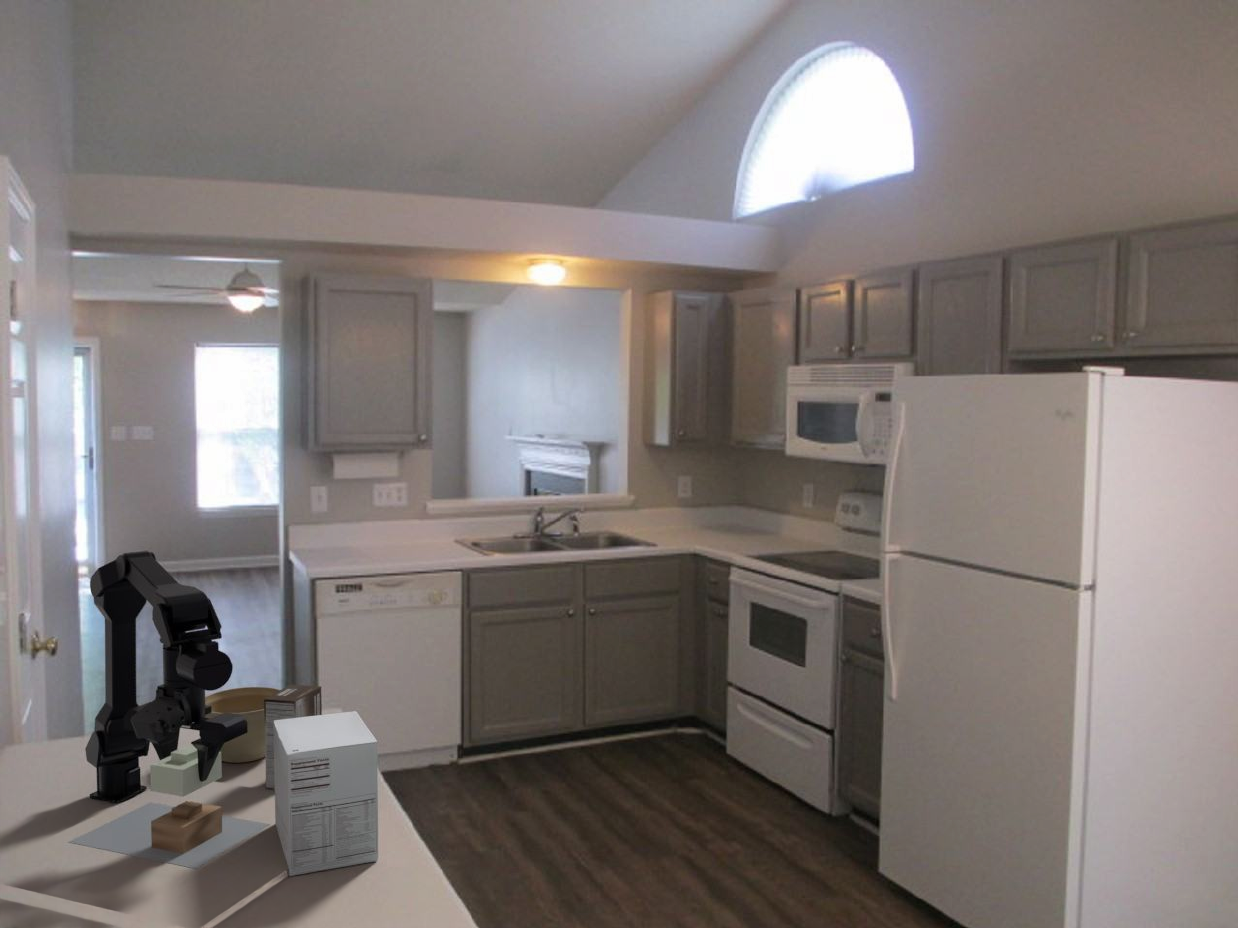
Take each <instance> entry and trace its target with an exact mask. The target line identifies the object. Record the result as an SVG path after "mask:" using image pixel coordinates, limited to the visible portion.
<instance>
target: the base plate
mask: <svg viewBox="0 0 1238 928" xmlns="http://www.w3.org/2000/svg"><path fill="white" fill-rule="evenodd" d="M174 807H175V806H174V805H169V804H162V803H157V802H151V801H150V802H148V803H146V804H144V805H142V806H140V807H137V808H135V809H133V810H132V811H129V812H126V813H125V814H124V815H123V814H122V815H121V816H119V817H117V818H115V819H113V820H110V821H109V822H106V823H105V824H103V825H100V826H99V827H96V828H94V829H93V830H91V831H88V832H86V833H84V834H82V835H79V836H78V837H76V838H73V839H71V840H70V841H68V843H70V844H75V845H81V846H85V847H88V848H89V847H90V848H93V849H99V850H103V851H108V852H109V851H110V852H112V853H113V852H114V853H119V854H122V855H128V856H133V857H137V858H142V859H147V860H151V861H157V862H162V863H166V864H172V865H175V866H179V867H186V868H188V869H189V868H190V869H194V870H197V869H198V868H201V867H202V866H204V865H205V864H207V863H209V862H210V861H211V860H213V859H215V858H217V857H219V856H220V855H222V854H224V853H225V852H227V851H229V850H230V849H232V848H234V847H235V846H237V845H238V844H240V843H242V842H244V841H245V840H247V839H249V838H251V837H253V836H254V835H255V834H257V833H259V832H260V831H262V830H264V829H266V828H267V827H269V826H270V825H271V823H270V824H269V823H265V822H260V821H254V820H249V819H243V818H238V817H232V816H227V815H223V814H222V833H220V834H218V835H216V836H215V837H213V838H211V839H209V840H208V841H206V842H204V843H202V844H200V845H199V846H197V847H195V848H193V849H192V850H190V851H188V852H186V853H185V854H181V853H176V852H171V851H167V850H162V849H157V848H152V840H151V821H153V820H155V819H157V818H159V817H161V816H163V815H164V814H166V813H168V812H170V811H172V808H174Z"/></svg>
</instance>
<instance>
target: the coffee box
mask: <svg viewBox="0 0 1238 928" xmlns="http://www.w3.org/2000/svg"><path fill="white" fill-rule="evenodd" d="M279 690H280V691H278V692H276V693H274V694H272V695H271V696H269V697H267V698H265V699H264V715H265V757H264V759H265V788H267V789H274V790H275V780H274V727H273V721H274V720H282V719H291V718H299V717H308V716H317V715H323V714H322V713H323V712H322V710H323V709H322V708H323V707H322V686H320V685H319V686H317V685H299V684H298V685H297V684H289V685H287V686H286V687H283V688H282V689H279Z"/></svg>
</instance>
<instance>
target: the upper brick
mask: <svg viewBox="0 0 1238 928" xmlns="http://www.w3.org/2000/svg"><path fill="white" fill-rule="evenodd" d="M149 766H150V767H149V768H150V792H155V793H158V794H159V793H162V794H165V795H166V794H167V795H171V796H178V797H181V798H184V797H186V796H188V795H190V794H192V793H194V792H196V791H197V790H200V789H201V788H204V787H206V786H208V785H210V784H212V783H213V782H216V781H217V780H220V779H222V777H223V775H222V761H221V752H219V754H218V756H217V758H216V760H215V762H214V765H213V767H212V769H211V771H210V774H209V776H208V778H207V780H205V781H203V782H201V781H200V779H199V773H198V753H197V749H196V748H195V747H194V746H188V745H187V746H186V745H185V746H183V747H181V748H177V750H176V751H173V752H171V756H169V757H167V758H164V759H162V760H160V759H159V760H158V761H156V762H154V763H152V764H150V765H149Z"/></svg>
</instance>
